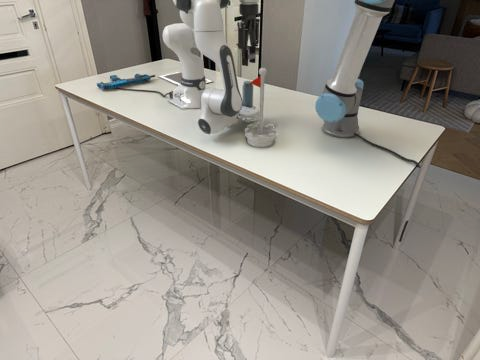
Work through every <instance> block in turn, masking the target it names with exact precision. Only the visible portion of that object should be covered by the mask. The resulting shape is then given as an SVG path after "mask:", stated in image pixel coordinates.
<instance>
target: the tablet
mask: <svg viewBox="0 0 480 360" xmlns="http://www.w3.org/2000/svg"><path fill="white" fill-rule="evenodd" d="M157 77H158V78H159V79H162V80H165V81H167V82H169V83H172V84H174V85H176V86H178V85H179V84H181V80H179V79H181V78H180V77H182V70H180V71H175V72H171V73H167V74H163V75H157ZM210 83H214V81H213V80H211V79H208V78H206V84H210ZM206 84H205V85H206Z"/></svg>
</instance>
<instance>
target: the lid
mask: <svg viewBox="0 0 480 360" xmlns="http://www.w3.org/2000/svg"><path fill="white" fill-rule="evenodd" d="M254 58H255V59H256V57H255V53H253V52H249V51H248V60H249V59H254Z"/></svg>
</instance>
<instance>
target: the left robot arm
mask: <svg viewBox="0 0 480 360" xmlns="http://www.w3.org/2000/svg"><path fill="white" fill-rule="evenodd" d="M172 3H173V5H174V7H175V8H176V9H177V10H179V18H180V19H181V21H182V22H179V23H172V24H168V25H166V26H165V27H164V28H163V29H162V40H163V41H162V42H163V43H164V45H165V46H166V47H167V48H168V49H170V50H171V51H172V52H174V54H175V55H176V56H177V58H178V60H179V63H180V69H181V71H182V77H180V78H181V79H179V80H181V84H179V85H176V87H175V88H174V89H173V90H171V91H169V92H167V93H165V94H163V93H162V92H161V91H157V90H148V89H138V88H137V89H136V88H135V89H134V88H125V87H117V88H116V89H115V90H123V91H135V92H146V93H147V92H148V93H158V94H160V96H162V97H164V98H165V97H166V96H169V98H168V102H169V103H171V104H173V105H175V106H176V107H178V108H180V109H182V110H185V109H186V110H187V109H200V115H199V117H198V120H197V124H198V128H199V129H200V130H201V131H202V133H204V134H207V135H213V134H217V133H219V132H221V131H223V130H225V129H226V128H229V127H232V126H233V125H235V124H237V123H238V122H239V121H241V122H243V121H245V122H244V123H252V122H254V121H257V120H259V112H260V110H258V109H256V106H255V105H253V106H251V108H248V107H245V106H242V94H241V91H240V89H239V83H238V76H237V71H236V66H235V65H236V64H235V60H234V55H233V52H232V50H231V48H230V47H229V45H228V44H227V41H226V37H225V31H224V19H223V13H222V9H225V8H227V6H228V5H229V3H230V0H172ZM191 49H197V50H198V51H199V52H200V53H201V54H202V55H203V56H204V57H206V58H208V59H210V60H211V61H213V62H214V63H215V64H216V65H217V67H218V69H219V71H220V77H221V78H220V79H221V82H222V89H221V88H215V87H207V85H206V79H207V78H206V75H205V65H204V62H205V61H204V60H203V58H202V57H201V56H198V55H196V54H194V53H193V52H191ZM100 83H104V82H103V81H100ZM251 121H252V122H251Z"/></svg>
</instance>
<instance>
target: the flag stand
mask: <svg viewBox="0 0 480 360" xmlns="http://www.w3.org/2000/svg"><path fill="white" fill-rule="evenodd" d="M267 73H268V71H267V69H266V68H265V67H260V68H259V70H258V74H259V76H258V77H256V78H255V79H253V80H251V81H252V82H250V83H251V84H252V85H253V86H256V87H257V88H259V118H258V122H256V125H254V124H253V123H250V124H248V125H247V127H245V128H244V137H246V138H247V139H246V141H247V143H248V145H250V146H253V147H255V148H256V147H257V148H267V147H269V146H272V145H273V144H274V142H275V140H274V139H276V138H277V132H278V131H277V130H278V129H277V127H274V124H271V123H268V124H267V125H264V102H265V81H266V80H265V79H266V78H265V77H266V75H267Z"/></svg>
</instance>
